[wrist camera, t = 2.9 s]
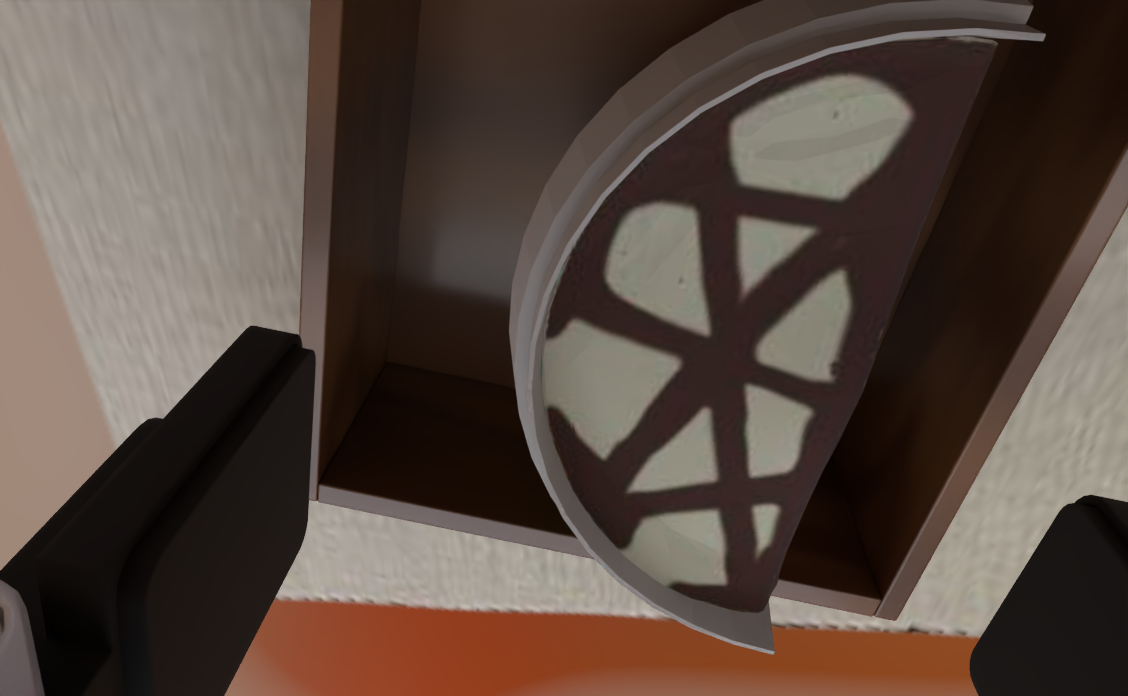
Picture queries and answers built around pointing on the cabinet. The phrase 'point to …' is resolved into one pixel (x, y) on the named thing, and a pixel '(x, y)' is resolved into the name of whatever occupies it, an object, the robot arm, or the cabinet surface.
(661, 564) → the food container
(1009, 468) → the cabinet surface
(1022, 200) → the chest
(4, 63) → the cabinet surface
